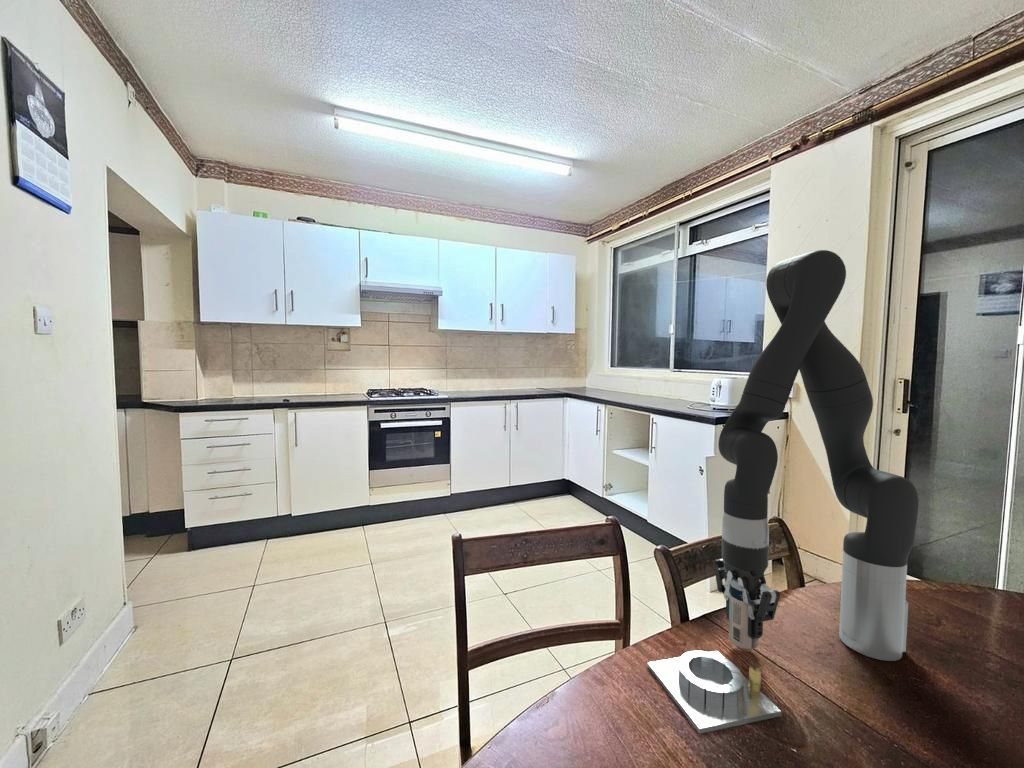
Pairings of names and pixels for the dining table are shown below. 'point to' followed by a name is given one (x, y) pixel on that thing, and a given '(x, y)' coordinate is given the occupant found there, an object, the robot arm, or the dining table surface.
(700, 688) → the flange collar
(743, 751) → the dining table surface
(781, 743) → the dining table surface
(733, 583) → the beer can
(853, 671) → the dining table surface
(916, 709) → the dining table surface
